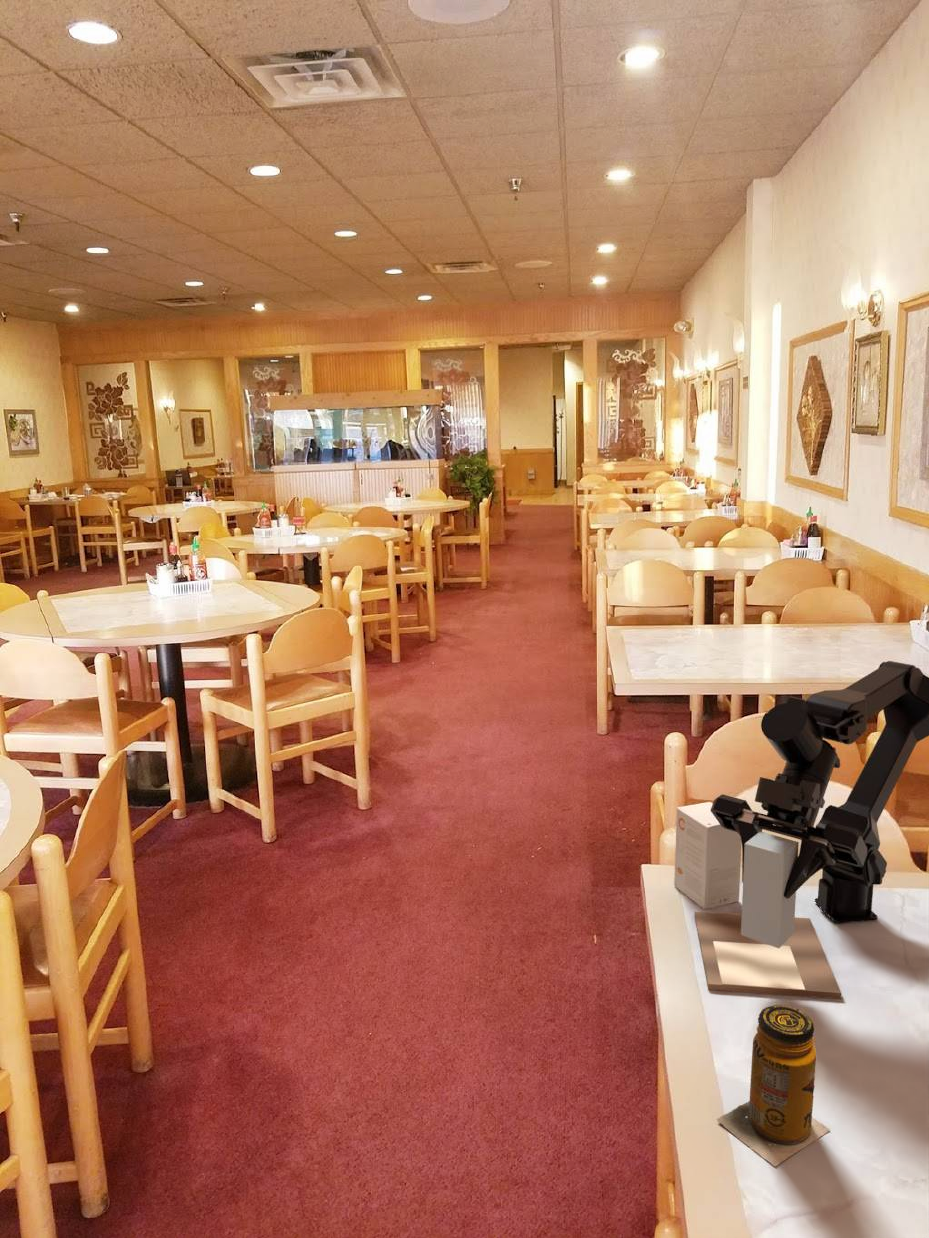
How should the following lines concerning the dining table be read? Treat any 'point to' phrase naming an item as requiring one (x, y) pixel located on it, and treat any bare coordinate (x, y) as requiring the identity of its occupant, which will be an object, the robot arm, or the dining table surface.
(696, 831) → the small box
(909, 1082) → the dining table surface
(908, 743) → the robot arm
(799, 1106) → the condiment
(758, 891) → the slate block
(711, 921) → the brown square board
